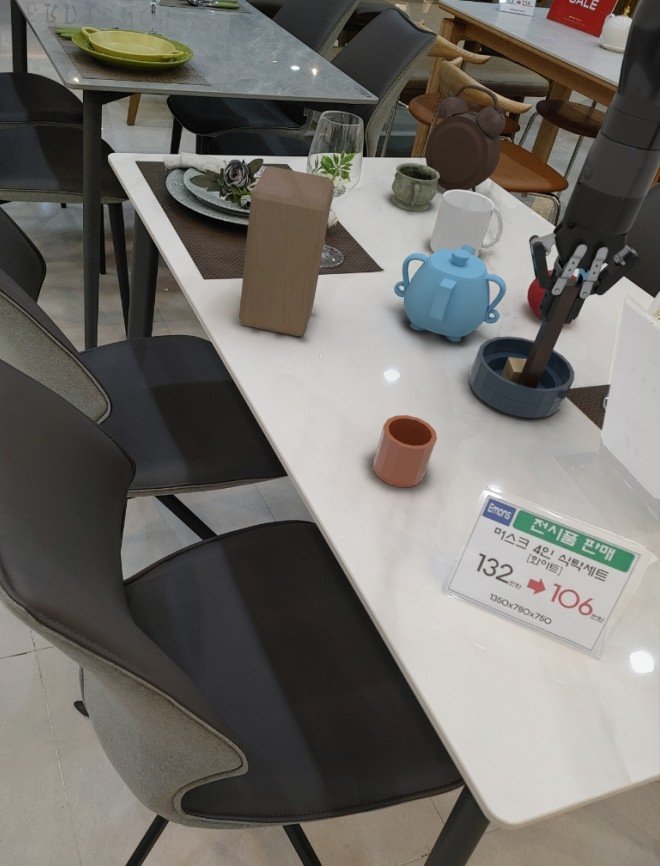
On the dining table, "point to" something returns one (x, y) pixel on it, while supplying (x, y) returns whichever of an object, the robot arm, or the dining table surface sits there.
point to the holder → (404, 450)
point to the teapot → (449, 292)
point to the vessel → (414, 186)
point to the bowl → (517, 396)
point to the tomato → (537, 295)
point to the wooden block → (284, 249)
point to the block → (513, 369)
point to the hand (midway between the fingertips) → (554, 318)
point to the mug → (464, 221)
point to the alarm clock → (465, 142)
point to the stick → (548, 337)
